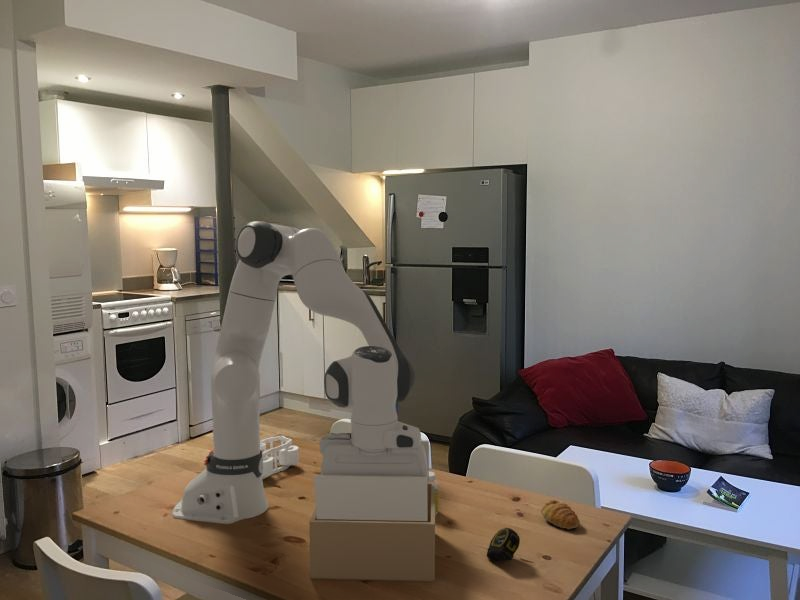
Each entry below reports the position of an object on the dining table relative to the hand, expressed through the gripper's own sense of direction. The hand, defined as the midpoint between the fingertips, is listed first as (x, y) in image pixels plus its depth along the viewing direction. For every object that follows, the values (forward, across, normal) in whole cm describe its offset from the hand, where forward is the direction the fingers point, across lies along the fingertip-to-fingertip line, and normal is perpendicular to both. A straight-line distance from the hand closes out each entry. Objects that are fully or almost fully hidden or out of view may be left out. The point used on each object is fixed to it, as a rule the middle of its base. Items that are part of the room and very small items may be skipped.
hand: (374, 503), depth 130 cm
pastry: (+17, +40, +25) cm, 50 cm away
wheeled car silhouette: (+17, -35, +61) cm, 72 cm away
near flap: (+3, -1, 0) cm, 3 cm away
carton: (+16, 0, +10) cm, 19 cm away
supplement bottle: (+16, +10, +33) cm, 38 cm away
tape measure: (+16, +26, +8) cm, 31 cm away
